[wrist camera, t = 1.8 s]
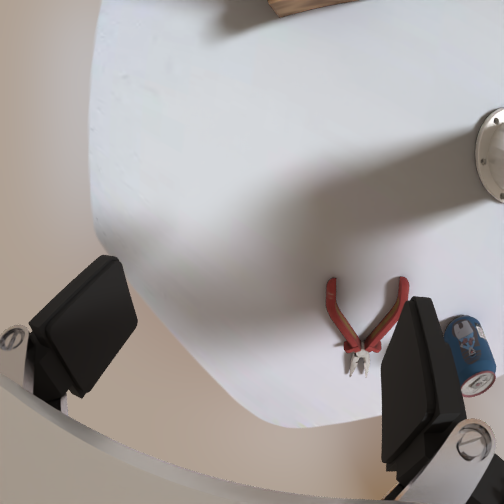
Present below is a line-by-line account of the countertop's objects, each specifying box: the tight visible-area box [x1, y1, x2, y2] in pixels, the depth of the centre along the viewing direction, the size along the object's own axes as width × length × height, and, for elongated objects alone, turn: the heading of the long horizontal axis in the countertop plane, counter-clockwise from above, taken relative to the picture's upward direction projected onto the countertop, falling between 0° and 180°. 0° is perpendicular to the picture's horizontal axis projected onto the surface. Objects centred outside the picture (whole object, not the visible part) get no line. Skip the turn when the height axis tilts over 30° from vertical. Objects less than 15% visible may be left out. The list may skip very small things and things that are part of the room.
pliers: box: [326, 277, 409, 377], centre depth 44 cm, size 12×21×3 cm, turn 9°
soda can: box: [444, 316, 496, 397], centre depth 35 cm, size 7×7×12 cm
